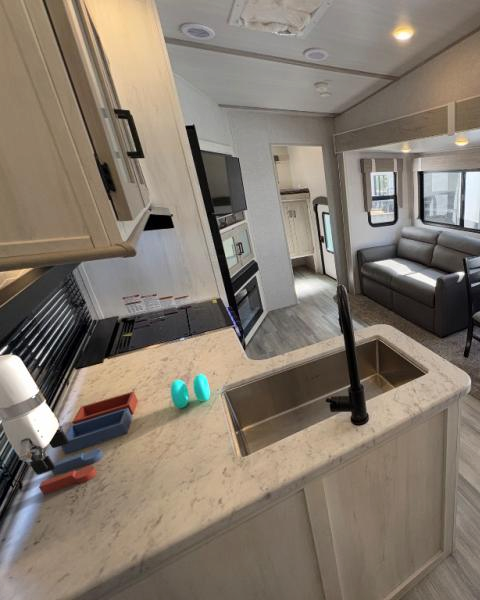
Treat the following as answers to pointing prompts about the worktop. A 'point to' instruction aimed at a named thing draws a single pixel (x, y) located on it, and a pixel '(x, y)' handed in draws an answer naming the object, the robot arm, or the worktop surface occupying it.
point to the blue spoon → (77, 461)
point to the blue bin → (97, 430)
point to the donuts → (181, 391)
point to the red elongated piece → (67, 479)
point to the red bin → (106, 407)
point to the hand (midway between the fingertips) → (54, 457)
